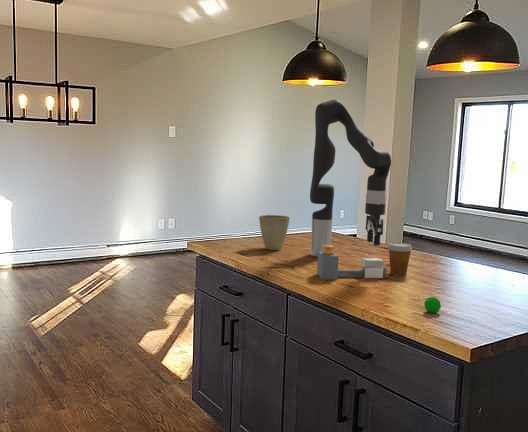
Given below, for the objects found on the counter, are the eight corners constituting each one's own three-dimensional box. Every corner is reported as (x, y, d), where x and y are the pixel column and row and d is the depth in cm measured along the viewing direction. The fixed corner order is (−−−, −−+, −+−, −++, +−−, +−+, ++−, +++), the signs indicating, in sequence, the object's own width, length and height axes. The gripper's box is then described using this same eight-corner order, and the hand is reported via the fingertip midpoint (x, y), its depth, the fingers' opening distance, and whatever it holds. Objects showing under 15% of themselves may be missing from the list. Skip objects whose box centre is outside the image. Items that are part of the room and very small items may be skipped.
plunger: (321, 256, 221) (321, 244, 220) (332, 256, 221) (332, 245, 221) (323, 258, 216) (324, 246, 216) (334, 258, 217) (335, 246, 216)
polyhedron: (423, 309, 178) (425, 294, 178) (440, 311, 177) (441, 296, 176) (423, 313, 174) (424, 298, 173) (440, 315, 172) (441, 300, 172)
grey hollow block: (317, 273, 224) (317, 251, 223) (331, 274, 225) (332, 251, 224) (322, 279, 215) (323, 255, 214) (337, 279, 216) (338, 256, 215)
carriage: (361, 274, 224) (362, 257, 223) (378, 274, 225) (379, 258, 224) (365, 277, 219) (366, 260, 218) (382, 277, 220) (383, 260, 219)
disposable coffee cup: (411, 272, 233) (413, 243, 231) (409, 277, 224) (411, 247, 222) (387, 270, 236) (389, 241, 234) (384, 274, 227) (386, 245, 225)
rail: (333, 275, 222) (334, 265, 221) (383, 276, 224) (383, 266, 224) (335, 277, 219) (335, 267, 218) (385, 277, 221) (386, 267, 221)
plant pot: (294, 248, 279) (295, 216, 277) (278, 253, 266) (279, 219, 264) (268, 245, 287) (269, 214, 285) (252, 249, 274) (253, 216, 272)
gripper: (360, 200, 225) (358, 240, 227) (371, 203, 211) (369, 246, 213) (379, 200, 226) (376, 240, 228) (391, 204, 212) (388, 246, 214)
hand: (373, 243), depth 220 cm, fingers open, 8 cm apart
